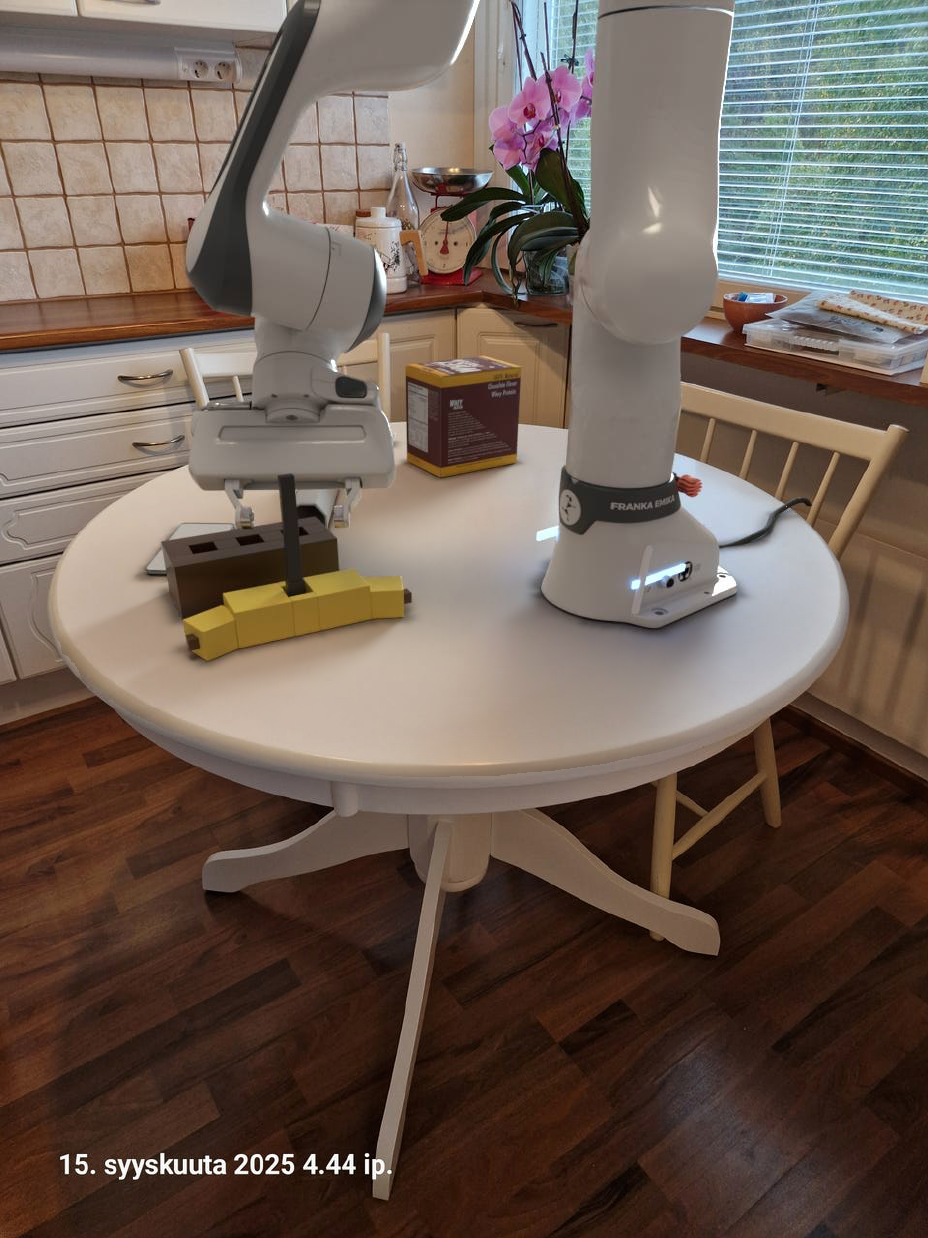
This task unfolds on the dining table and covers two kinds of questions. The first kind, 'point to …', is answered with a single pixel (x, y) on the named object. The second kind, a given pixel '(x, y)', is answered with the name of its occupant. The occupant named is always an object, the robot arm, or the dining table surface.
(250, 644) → the banana
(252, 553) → the cutlery block
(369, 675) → the dining table surface
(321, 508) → the tube
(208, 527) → the smartphone
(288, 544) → the dark grey stepped rod
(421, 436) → the supplement box
